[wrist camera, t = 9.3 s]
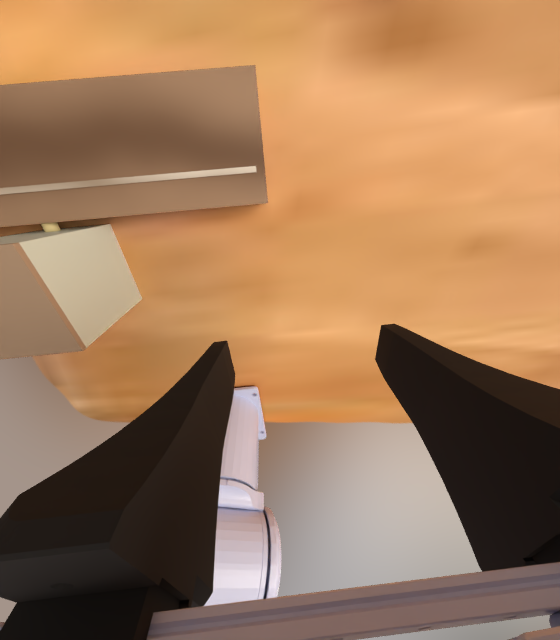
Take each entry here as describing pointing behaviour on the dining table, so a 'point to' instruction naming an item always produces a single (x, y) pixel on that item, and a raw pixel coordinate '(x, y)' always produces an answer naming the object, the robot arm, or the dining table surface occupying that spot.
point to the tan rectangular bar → (130, 145)
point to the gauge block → (61, 289)
